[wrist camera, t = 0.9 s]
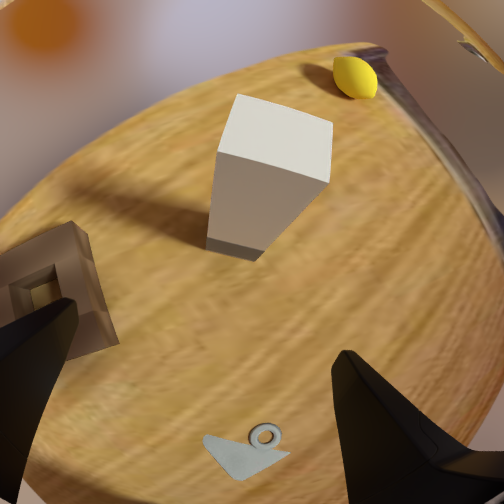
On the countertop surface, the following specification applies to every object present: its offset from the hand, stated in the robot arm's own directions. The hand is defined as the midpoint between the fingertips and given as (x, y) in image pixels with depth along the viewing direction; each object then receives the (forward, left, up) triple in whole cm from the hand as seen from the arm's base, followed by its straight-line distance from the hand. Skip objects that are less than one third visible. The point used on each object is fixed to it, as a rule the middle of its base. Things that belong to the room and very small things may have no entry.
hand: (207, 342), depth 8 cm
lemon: (+26, -20, -13) cm, 35 cm away
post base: (+3, +13, -13) cm, 18 cm away
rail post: (+7, -3, -13) cm, 15 cm away
